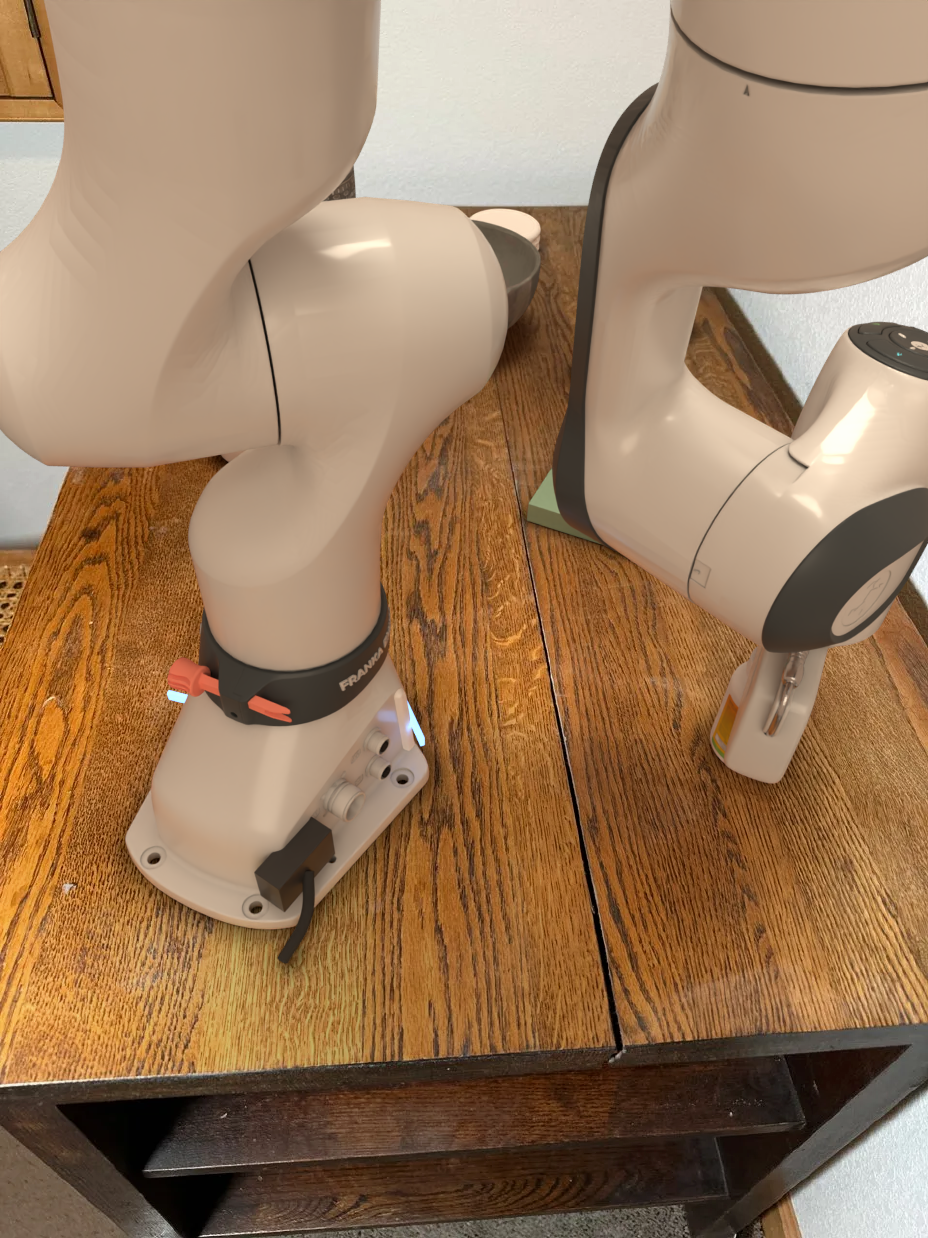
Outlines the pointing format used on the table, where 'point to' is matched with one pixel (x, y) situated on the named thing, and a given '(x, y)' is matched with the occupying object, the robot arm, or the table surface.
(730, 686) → the supplement bottle
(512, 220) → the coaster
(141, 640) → the table surface
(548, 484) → the scale
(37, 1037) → the table surface
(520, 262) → the bowl
